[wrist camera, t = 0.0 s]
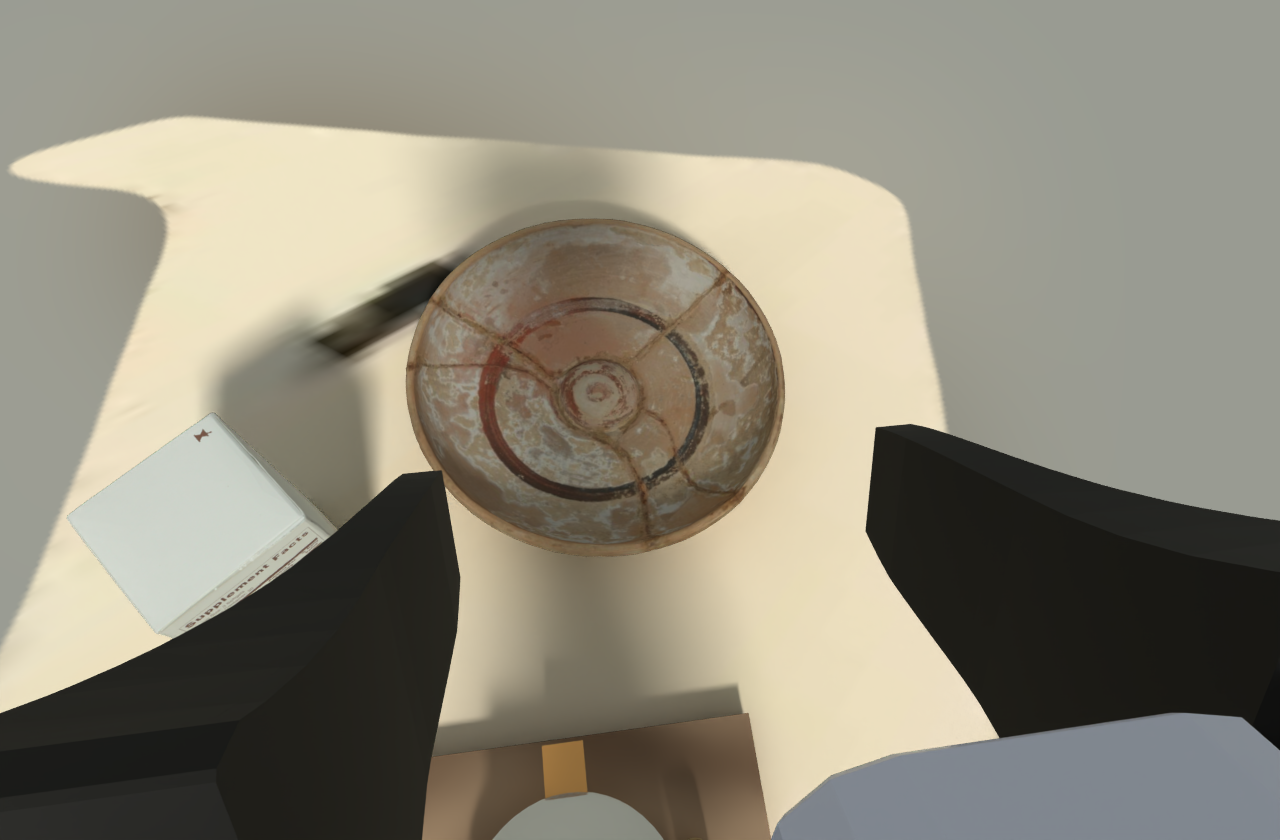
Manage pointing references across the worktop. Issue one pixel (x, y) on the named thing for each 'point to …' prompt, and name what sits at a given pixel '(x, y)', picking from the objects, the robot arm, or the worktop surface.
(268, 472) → the supplement box
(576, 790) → the flange disc
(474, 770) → the walnut base
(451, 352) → the ceramic bowl
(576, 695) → the worktop surface
